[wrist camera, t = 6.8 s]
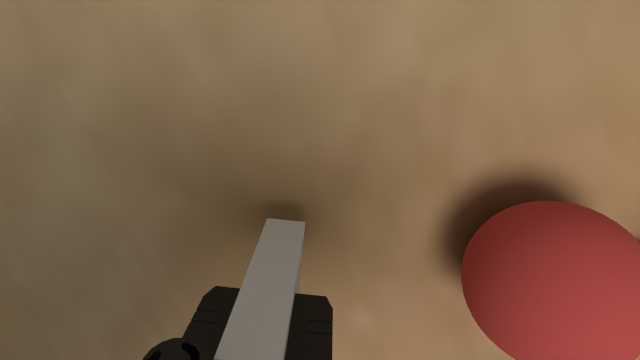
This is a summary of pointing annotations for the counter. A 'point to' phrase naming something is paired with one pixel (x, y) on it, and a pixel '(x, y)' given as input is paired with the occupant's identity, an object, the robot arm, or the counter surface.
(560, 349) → the ball
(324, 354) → the robot arm
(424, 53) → the counter surface
